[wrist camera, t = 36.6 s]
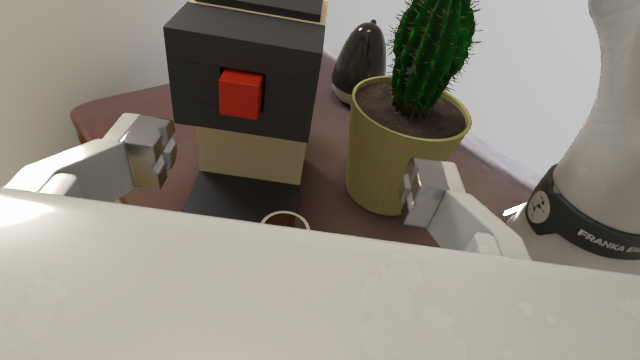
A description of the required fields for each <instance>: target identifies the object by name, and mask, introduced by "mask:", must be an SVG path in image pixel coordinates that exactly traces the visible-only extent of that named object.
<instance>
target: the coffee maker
mask: <svg viewBox="0 0 640 360" xmlns="http://www.w3.org/2000/svg"><path fill="white" fill-rule="evenodd" d="M327 4H328V1H324V0H189V1H188V2H187V3H186V4H185V5H184V6H183V7H182V8H181V9H180V10H179V11H178V12H177V13H176V14H175V15H174V16H173V17H172V18H171V20H169V21H168V22H167V23H166V25H165V26H164V27H163V30H164V38H165V46H166V55H167V64H168V73H169V81H170V91H171V98H172V107H173V116H174V123H179V124H185V125H192V126H197V139H198V152H199V166H200V172H199V174H198V176H197V178H196V181H195V183H194V185H193V188H192V190H191V192H190V194H189V197H188V199H187V201H186V203H185V206H184V208H183V210H182V212H184V213H192V214H199V215H206V216H213V217H220V218H228V219H235V220H242V221H249V222H257V223H261V221H262V220H263V219H264V218H265V217H266V216H267V215H269V214H271V213H273V212H277V211H289V212H293V213H296V211H297V203H298V196H299V188H300V181H301V175H302V169H303V162H304V156H305V150H306V144H307V143H308V139H309V133H310V127H311V121H312V114H313V108H314V102H315V96H316V90H317V84H318V77H319V71H320V65H321V59H322V52H323V43H324V33H325V24H326V14H327ZM225 68H231V69H237V70H244V71H250V72H256V73H262V74H264V86H263V102H262V106H261V109H260V112H259V115H258V118H257V120H255V119H248V118H242V117H236V116H229V115H223V114H220V110H219V79H220V77H221V75H222V73H223V71H224V69H225Z"/></svg>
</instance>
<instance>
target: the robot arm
mask: <svg viewBox="0 0 640 360" xmlns="http://www.w3.org/2000/svg"><path fill="white" fill-rule="evenodd" d="M588 6H589V13H590V15H591V18H592V20H593V22H594V25H595V27H596V30H597V34H598V38H599V42H600V49H601V76H600V82H599V88H598V93H597V97H596V100H595V102H594V105H593V108H592V110H591V113H590V115H589V116H588V118H587V120H586V122H585V124H584V125H583V127H582V129H581V130H580V132H579V134H578V135H577V137H576V138H575V140H574V142H573V143H572V145H571V146H570V147H569V149H568V150H567V152H566V154H565V155H564V156H563V158H562V159H561V161H560V162H559V163H557V164H555V165H553V166H552V167H551V168H550V169H549V170H548V172H547V173H546V174H545V175H544V177H543V178H542V179H541V181H540V182H539V183H538V185H537V186H536V188H535V189H534V191H533V193H532V195H531V197H530V199H529V201H528V202H527V203H524V204H522V205H519V206H516V207H514V208H511V209H509V210H506V211H505V212H504V214H503V215H504V216H506V215H508V214H511V213H513V212H516V211H518V210H519V211H518V212H517V213H516V214H515V215H513V216H511V217H510V218H509V219H508V220H507V222H506V224H505V223H504V222H503V221H502V220H500V219H499V218H498V217H497V216H496V215H494V214H493V213H492V212H491V211H490V210H489V209H487V208H486V207H485V206H484V205H483V204H481V203H480V202H479V201H478V200H477V199H476V198H474V197H473V196H472V195H471V194H467V193H466V192H465V189H464V186H463V183H462V180H461V178H460V175H459V172H458V169H457V166H456V164H455V163H454V162H446V161H435V160H428V159H421V158H414V157H411V159H410V160H409V162H408V165H407V170H408V173H407V174H405V175H404V176H403V177H402V180H401V183H400V189H399V199H400V202H401V203H402V204H403V207H402V210H401V212H402V218H403V225H409V226H415V227H421V228H427V230H428V232H429V233H430V234H431V235H432V237H433V238H434V239H435V241H436V242H437V243H438V244H439V246H440V247H441V248H437V247H430V246H423V245H416V244H408V243H401V242H394V241H387V240H379V239H372V238H365V237H358V236H350V235H343V234H336V233H329V232H322V231H314V230H307V229H300V228H293V227H285V226H278V225H271V224H264V223H257V222H249V221H242V220H235V219H228V218H220V217H213V216H206V215H199V214H192V213H184V212H177V211H170V210H163V209H156V208H148V207H141V206H134V205H127V204H119V203H112V202H114V201H115V200H117V199H118V198H120V197H121V196H123V195H125V194H126V193H128V192H129V191H131V190H132V189H134V187H138V188H146V189H155V190H160V189H161V187H162V186H163V184H164V182H165V180H166V178H167V172H166V171H168V170H169V169H171V168H172V167H173V165H174V163H175V159H176V155H177V145H176V141H175V140H174V139H173V138H172V135H173V134H174V132H175V128H174V122H173V121H172V120H168V119H162V118H157V117H151V116H145V115H139V114H133V113H123V114H122V115H121V117H120V118H119V119H118V120H117V122H116V123H115V124H114V125H113V126H112V128H111V129H110V130H109V131H108V132H107V134H106V135H105V136H104V137H103V138H102V139H95V140H92V141H90V142H87V143H85V144H82V145H79V146H77V147H74V148H72V149H69V150H66V151H64V152H61V153H59V154H56V155H53V156H51V157H48V158H45V159H43V160H40V161H37V162H35V163H32V164H30V165H27V166H24V167H23V168H22V169H21V170H20V171H19V172H18V173H17V174H16V175H15V176H14V177H13V178H12V179H11V180H10V181H9V182H8V183H7V184H6V185H5V186H4V187H0V360H640V0H588Z"/></svg>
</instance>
